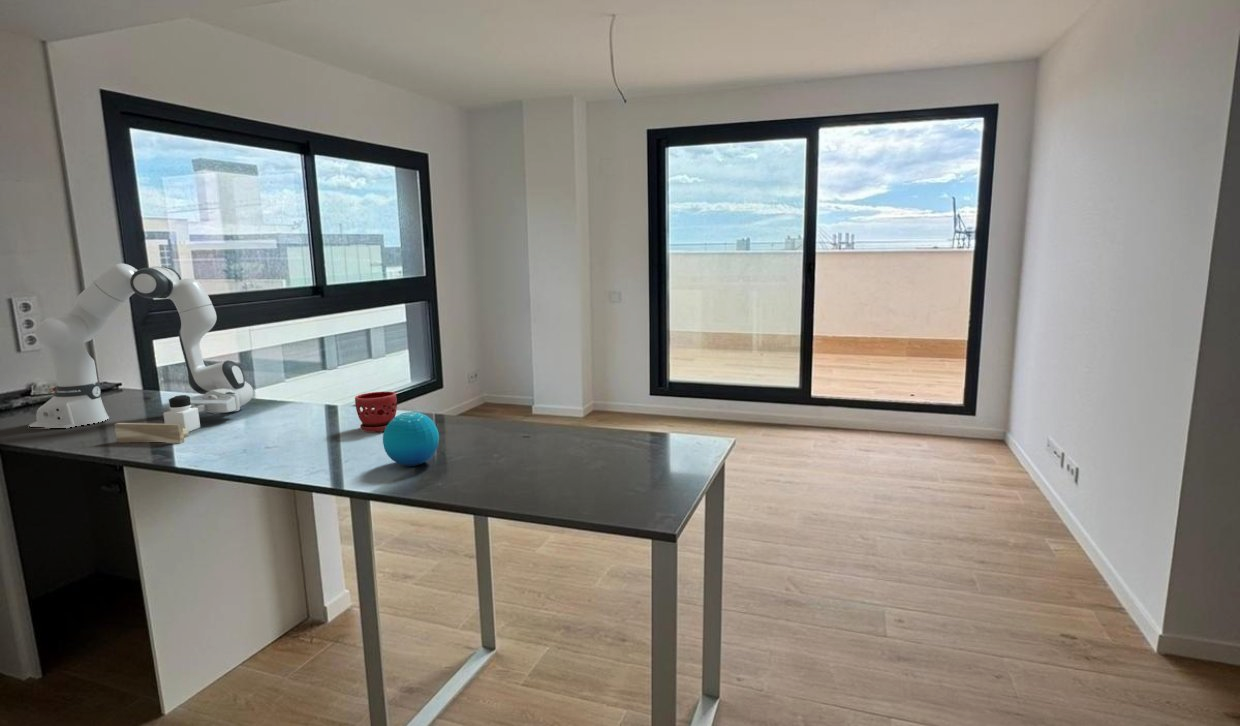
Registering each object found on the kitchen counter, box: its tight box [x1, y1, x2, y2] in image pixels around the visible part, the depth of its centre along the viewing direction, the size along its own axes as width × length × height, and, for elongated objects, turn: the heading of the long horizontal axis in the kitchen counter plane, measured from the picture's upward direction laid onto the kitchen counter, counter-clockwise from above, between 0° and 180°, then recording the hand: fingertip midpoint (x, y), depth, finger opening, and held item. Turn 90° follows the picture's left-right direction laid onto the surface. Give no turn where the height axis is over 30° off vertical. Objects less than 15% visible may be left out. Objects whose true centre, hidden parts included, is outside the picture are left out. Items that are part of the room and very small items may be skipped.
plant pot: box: [354, 391, 398, 433], centre depth 216 cm, size 13×13×12 cm
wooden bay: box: [113, 422, 190, 444], centre depth 208 cm, size 8×22×6 cm, turn 84°
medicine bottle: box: [163, 394, 201, 433], centre depth 217 cm, size 7×7×12 cm
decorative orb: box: [382, 411, 440, 467], centre depth 178 cm, size 15×15×15 cm
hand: (188, 410), depth 221 cm, fingers closed, pressing on medicine bottle
